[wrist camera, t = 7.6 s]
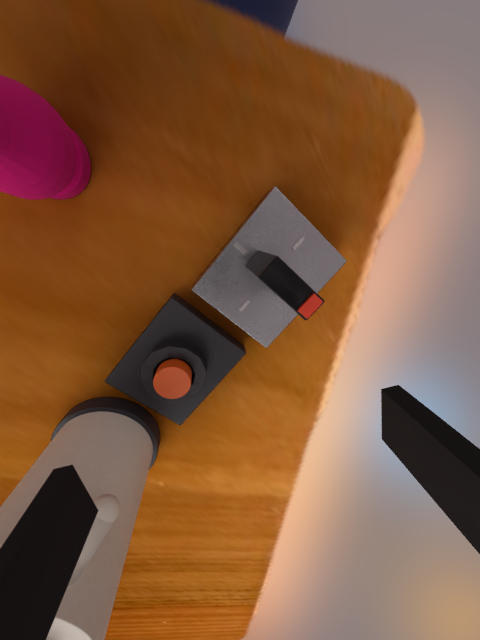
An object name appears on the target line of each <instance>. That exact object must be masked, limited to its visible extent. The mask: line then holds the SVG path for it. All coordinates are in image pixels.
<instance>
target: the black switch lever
mask: <svg viewBox="0 0 480 640" xmlns="http://www.w3.org/2000/svg"><path fill="white" fill-rule="evenodd" d="M245 267H246V268H247V269H248V270H250V271H251V272H252V273H253V274H254V275H255V276H256V277H257V278H259V279H260V280H261V281H262V282H263V283H264V284H265V285H266V286H267V287H269V288H270V289H271V290H272V291H273V292H274V293H275V294H276V295H277V296H279V297H280V298H281V299H282V300H283V301H284V302H285V303H286V304H288V305H289V306H290V307H291V308H292V309H293V310H294V311H295V312H296V313H298V314H299V315H300V316H301V317H302V318H303V319H304V320H308V318H309V317H310V316H311V315H312V314H313V313H314V312H315V311H316V310H317V309H318V308H319V307H320V306H321V305H322V304H323V303H324V300H323V299H322V298H321V297H320V296H319V295H318V294H317V293H316V292H315V291H314V290H313V289H312V288H311V287H310V286H309V285H308V284H307V283H306V282H305V281H304V280H303V279H301V278H300V277H299V276H298V275H297V274H296V273H295V272H294V271H293V270H292V269H291V268H290V267H289V266H288V265H287V264H286V263H285V262H284V261H283V260H282V259H281V258H280V257H279V256H276V255H273V254H269V253H266V252H263V251H260V250H259V251H258V252H257V253H256V254H255V255H254V256H253V258H252V259H251V260H250V261H249V262H248V263H247V265H246V266H245Z"/></svg>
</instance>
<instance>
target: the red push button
mask: <svg viewBox="0 0 480 640" xmlns="http://www.w3.org/2000/svg"><path fill="white" fill-rule="evenodd" d="M191 380H192V370H191V368H190V366H189V365H188V364H187V363H186V362H184V361H182V360H180V359H169V360H166V361H164V362H162V363H161V364H160V365H159V367H158V369H157V371H156V374H155V376H154V379H153V386H154V389H155V390H156V392H157V393H158V394H159V395H161V396H162V397H165V398H168V399H176V398H180V397H182V396H184V395H185V394H186V393H187V392H188V391H189V389H190V386H191Z"/></svg>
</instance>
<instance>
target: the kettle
mask: <svg viewBox="0 0 480 640" xmlns="http://www.w3.org/2000/svg"><path fill="white" fill-rule="evenodd" d="M159 444H160V430H159V427H158V425H157V423H156V421H155V419H154V418H153V416H152V415H151V414H150V413H149V412H148V411H147V410H145V409H144V408H143V407H141V406H140V405H138V404H136V403H134V402H131V401H129V400H125V399H121V398H115V397H99V398H94V399H90V400H87V401H84V402H82V403H80V404H78V405H77V406H75V407H74V408H72V409H71V410H70V411H69V412H68V413H67V414H66V416H65V417H64V418H63V419H62V421H61V422H60V423H59V424H58V425H57V427H56V429H55V430H54V432H53V434H52V438H51V442H50V443H49V445H48V446H47V447H46V449H45V450H44V451H43V452H42V454H41V455H40V456H39V458H38V459H37V460H36V462H35V463H34V464H33V465H32V467H31V468H30V469H29V471H28V472H27V473H26V475H25V476H24V477H23V478H22V480H21V481H20V482H19V484H18V485H17V486H16V487H15V489H14V490H13V491H12V493H11V494H10V495H9V497H8V498H7V499H6V500H5V502H4V503H3V504H2V506H1V507H0V548H1V546H2V545H3V544H4V542H5V541H6V539H7V538H8V536H9V535H10V533H11V532H12V530H13V529H14V527H15V526H16V524H17V523H18V521H19V520H20V518H21V517H22V515H23V514H24V512H25V511H26V509H27V508H28V506H29V505H30V503H31V502H32V500H33V499H34V497H35V496H36V494H37V493H38V491H39V490H40V488H41V487H42V485H43V484H44V482H45V481H46V479H47V478H48V476H49V475H50V474H51V472H52V471H53V469H56V468H60V467H64V466H68V465H72V464H73V466H74V468H75V470H76V471H77V473H78V475H79V477H80V479H81V480H82V482H83V484H84V486H85V487H86V489H87V491H88V493H89V495H90V496H91V498H92V500H93V502H94V503H95V505H96V507H97V509H98V513H97V515H96V518H95V520H94V523H93V525H92V528H91V530H90V532H89V535H88V537H87V540H86V542H85V545H84V547H83V550H82V552H81V555H80V557H79V560H78V562H77V564H76V567H75V569H74V572H73V574H72V577H71V579H70V582H69V584H68V587H67V589H66V592H65V594H64V596H63V599H62V601H61V604H60V606H59V609H58V611H57V614H56V616H55V619H54V621H53V624H52V626H51V628H50V631H49V633H48V636H47V638H46V640H104V639H105V635H106V631H107V627H108V623H109V620H110V616H111V612H112V608H113V604H114V600H115V597H116V593H117V589H118V585H119V581H120V578H121V574H122V570H123V566H124V562H125V559H126V555H127V551H128V547H129V543H130V539H131V536H132V532H133V528H134V524H135V520H136V517H137V513H138V509H139V505H140V501H141V497H142V494H143V490H144V486H145V482H146V478H147V475H148V471H149V469H150V468H151V467H152V465H153V463H154V462H155V459H156V456H157V452H158V448H159Z"/></svg>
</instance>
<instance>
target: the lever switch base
mask: <svg viewBox="0 0 480 640" xmlns="http://www.w3.org/2000/svg"><path fill="white" fill-rule="evenodd" d="M259 250H260V251H263V252H266V253H269V254H273V255H276V256H279V257H280V258H281V259H282V260H283V261H284V262H285V263H286V264H287V265H288V266H289V267H290V268H291V269H292V270H293V271H294V272H295V273H296V274H297V275H298V276H299V277H300V278H301V279H303V280H304V281H305V282H306V283H307V284H308V285H309V286H310V287H311V288H312V289H313V290H314V291H315V292H316V293H318V292H319V291H320V290H321V288H322V287H323V286H324V285H325V284H326V283H327V282H328V281H329V280H330V279H331V278H332V277H333V275H334V274H335V273H336V272H337V271H338V270H339V269H340V268H341V267H342V266H343V265H344V264H345V262H346V260H345V258H344V257H343V256H342V255H341V254H340V253H339V252H338V251H337V250H336V249H335V248H334V247H333V246H332V245H331V244H330V243H329V242H328V241H327V240H326V239H325V238H324V237H323V235H322V234H321V233H320V232H319V231H318V230H317V229H316V228H315V227H314V226H313V225H312V224H311V223H310V222H309V221H308V220H307V219H306V218H305V217H304V216H303V215H302V214H301V212H300V211H299V210H298V209H297V208H296V207H295V206H294V205H293V204H292V203H291V202H290V201H289V200H288V199H287V198H286V197H285V196H284V195H283V194H282V193H281V192H280V190H279V189H278V188H277V187H276V186H275V187H274V188H272V189H271V190H270V191H268V192H267V193H266V195H265V196H264V197H263V198H262V200H261V201H260V202H259V203H258V205H257V206H256V207H255V208H254V210H253V211H252V212H251V213H250V215H249V216H248V217H247V218H246V219H245V221H244V222H243V223H242V224H241V226H240V227H239V228H238V229H237V231H236V232H235V233H234V234H233V236H232V237H231V238H230V239H229V241H228V242H227V243H226V244H225V246H224V247H223V248H222V249H221V251H220V252H219V253H218V254H217V255H216V257H215V258H214V259H213V260H212V262H211V263H210V264H209V265H208V267H207V268H206V269H205V270H204V272H203V273H202V274H201V275H200V277H199V278H198V279H197V280H196V282H195V283H194V284H193V287H192V291H193V292H195V293H196V294H197V295H199V296H200V297H201V298H202V299H204V300H205V301H206V302H208V303H209V304H210V305H211V306H213V307H214V308H215V309H217V310H218V311H219V312H220V313H222V314H223V315H224V316H226V317H227V318H228V319H229V320H231V321H232V322H233V323H235V324H236V325H237V326H239V327H240V328H241V329H242V330H244V331H245V332H246V333H248V334H249V335H250V336H251V337H253V338H254V339H255V340H257V341H258V342H259V343H260V344H262V345H263V346H264V347H266V348H267V347H268V346H269V345H270V344H271V343H272V342H273V340H274V339H275V338H276V337H277V336H278V335H279V334H280V333H281V332H282V331H283V330H284V329H285V327H286V326H287V325H288V324H289V323H290V322H291V321H292V320H293V319H294V318H295V317H296V316H297V314H298V313H296V312H295V311H294V310H293V309H292V308H291V307H290V306H289V305H288V304H286V303H285V302H284V301H283V300H282V299H281V298H280V297H279V296H277V295H276V294H275V293H274V292H273V291H272V290H271V289H270V288H269V287H267V286H266V285H265V284H264V283H263V282H262V281H261V280H260V279H259V278H257V277H256V276H255V275H254V274H253V273H252V272H251V271H250V270H248V269H247V268H246V267H245V266H246V265H247V263H248V262H249V261H250V260H251V259H252V258H253V256H254V255H255V254H256V253H257V252H258V251H259Z"/></svg>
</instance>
